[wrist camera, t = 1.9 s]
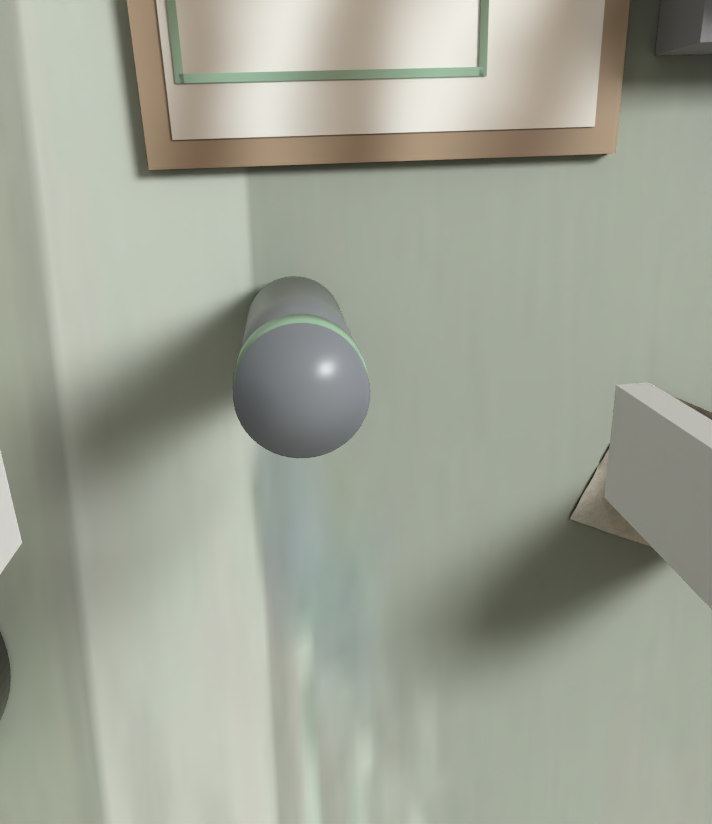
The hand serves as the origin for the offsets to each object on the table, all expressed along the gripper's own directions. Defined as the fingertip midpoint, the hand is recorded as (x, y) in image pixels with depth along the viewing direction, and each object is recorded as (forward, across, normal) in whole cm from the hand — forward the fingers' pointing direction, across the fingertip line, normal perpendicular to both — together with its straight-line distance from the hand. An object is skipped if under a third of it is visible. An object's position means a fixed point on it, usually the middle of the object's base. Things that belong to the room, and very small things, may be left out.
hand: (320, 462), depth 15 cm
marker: (+15, 0, 0) cm, 15 cm away
